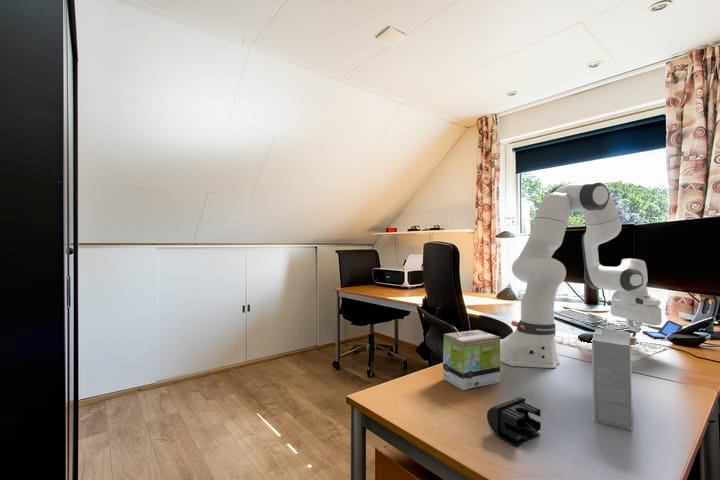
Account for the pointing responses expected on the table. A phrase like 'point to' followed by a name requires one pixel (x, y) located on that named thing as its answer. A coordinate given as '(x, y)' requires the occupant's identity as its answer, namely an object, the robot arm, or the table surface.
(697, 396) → the table surface
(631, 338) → the brown rectangular block
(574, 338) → the carpet tile
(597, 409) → the hard drive box
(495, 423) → the end cap
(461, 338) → the tea box
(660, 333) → the handheld game console
